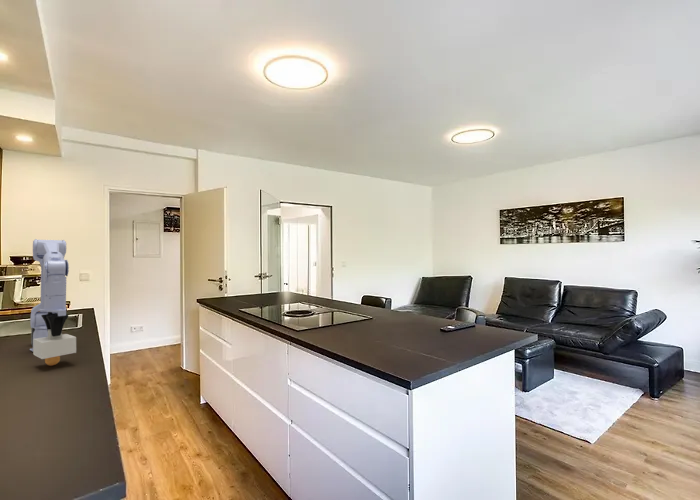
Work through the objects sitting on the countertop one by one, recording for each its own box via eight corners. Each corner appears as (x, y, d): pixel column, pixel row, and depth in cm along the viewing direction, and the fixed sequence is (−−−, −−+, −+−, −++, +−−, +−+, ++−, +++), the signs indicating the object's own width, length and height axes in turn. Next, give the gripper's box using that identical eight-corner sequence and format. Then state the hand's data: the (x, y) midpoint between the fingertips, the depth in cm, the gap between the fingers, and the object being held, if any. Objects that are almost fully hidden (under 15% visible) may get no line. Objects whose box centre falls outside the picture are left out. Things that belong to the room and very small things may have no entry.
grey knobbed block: (33, 354, 121) (33, 330, 121) (66, 348, 128) (66, 325, 128) (41, 359, 115) (41, 333, 115) (76, 352, 123) (76, 328, 123)
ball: (44, 352, 121) (47, 359, 119) (58, 349, 124) (62, 356, 122) (42, 362, 122) (45, 369, 120) (57, 359, 125) (60, 366, 123)
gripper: (33, 294, 123) (32, 334, 122) (47, 297, 114) (46, 340, 114) (59, 293, 129) (58, 331, 128) (74, 295, 120) (73, 336, 120)
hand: (54, 335), depth 122 cm, fingers closed on grey knobbed block, 3 cm apart
